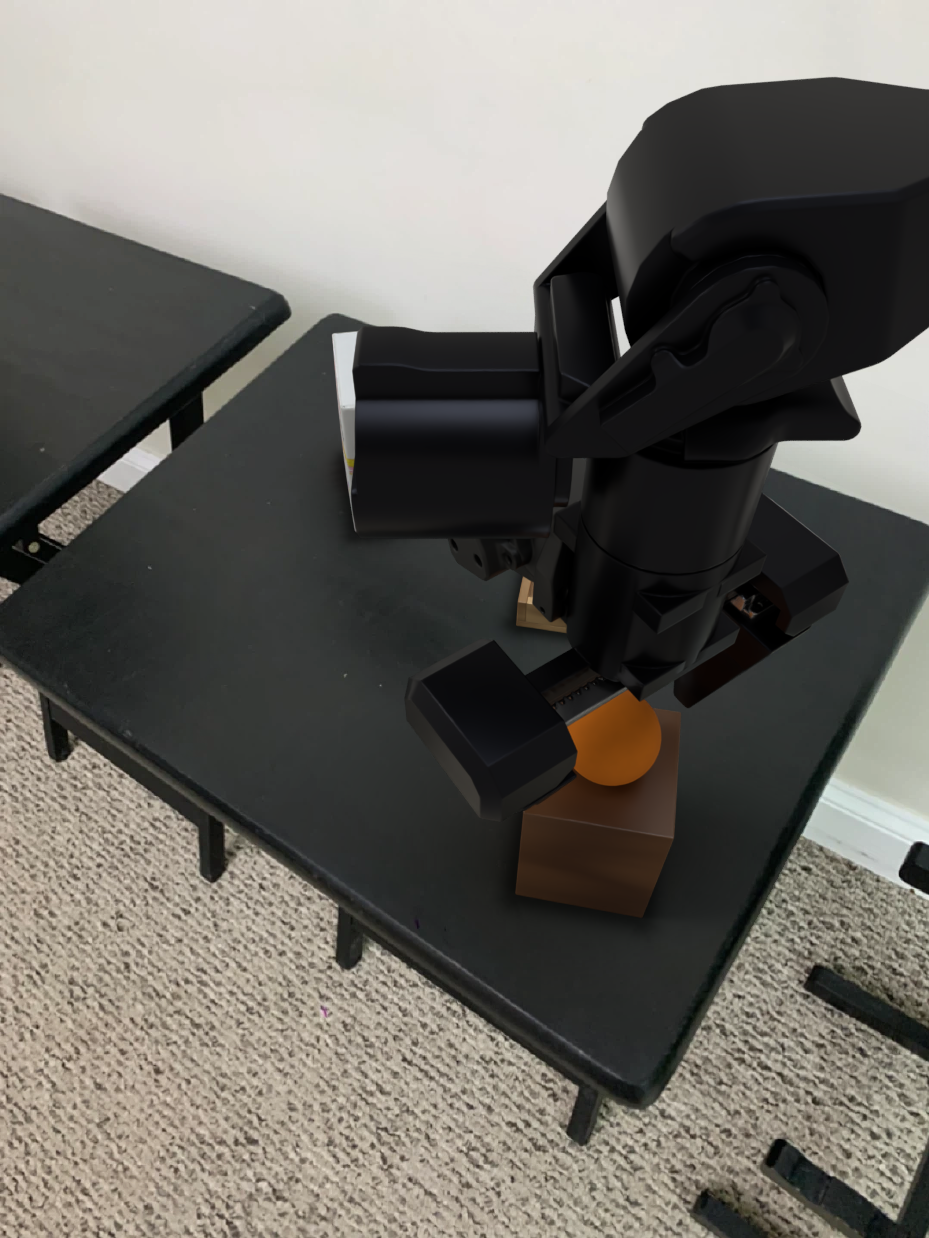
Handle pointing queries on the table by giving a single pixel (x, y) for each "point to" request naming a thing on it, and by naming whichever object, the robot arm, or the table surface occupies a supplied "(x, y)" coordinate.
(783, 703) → the table surface
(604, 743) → the clementine
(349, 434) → the ink box
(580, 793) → the brown wooden block
